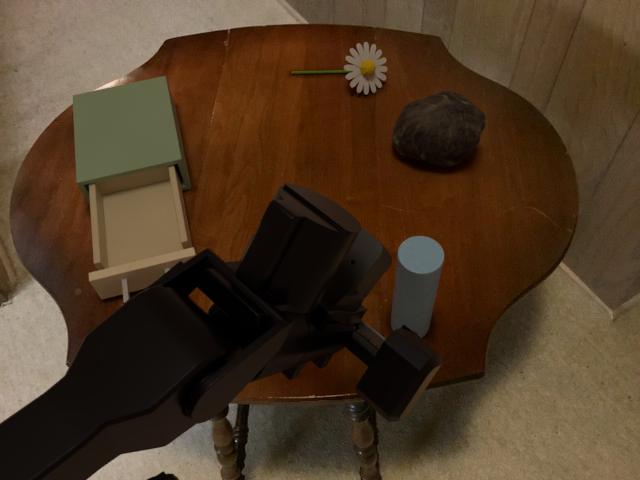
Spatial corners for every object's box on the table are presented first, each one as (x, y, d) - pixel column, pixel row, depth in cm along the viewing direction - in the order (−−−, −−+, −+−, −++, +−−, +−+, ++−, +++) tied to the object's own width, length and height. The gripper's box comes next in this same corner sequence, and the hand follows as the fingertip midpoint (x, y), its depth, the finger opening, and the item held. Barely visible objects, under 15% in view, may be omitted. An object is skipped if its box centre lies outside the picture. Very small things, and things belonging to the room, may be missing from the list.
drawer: (208, 306, 70) (201, 288, 66) (103, 334, 68) (90, 316, 65) (184, 177, 82) (177, 156, 79) (94, 198, 80) (83, 177, 77)
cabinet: (191, 188, 82) (181, 158, 77) (92, 211, 80) (76, 182, 75) (175, 106, 92) (165, 75, 87) (87, 125, 90) (72, 95, 85)
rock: (380, 128, 86) (396, 75, 77) (452, 120, 88) (475, 68, 80) (401, 184, 81) (420, 134, 72) (477, 174, 83) (504, 125, 75)
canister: (400, 346, 67) (409, 279, 55) (384, 313, 69) (390, 243, 58) (436, 333, 67) (452, 264, 56) (419, 301, 70) (431, 230, 59)
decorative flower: (287, 41, 88) (389, 39, 87) (291, 47, 94) (386, 45, 94) (288, 95, 90) (389, 93, 89) (292, 97, 96) (386, 96, 95)
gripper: (441, 318, 36) (508, 294, 49) (236, 165, 44) (341, 180, 57) (353, 454, 39) (438, 397, 52) (177, 289, 47) (290, 276, 61)
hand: (374, 306), depth 56 cm, fingers open, 9 cm apart
